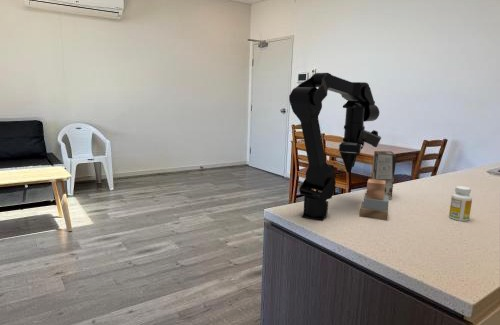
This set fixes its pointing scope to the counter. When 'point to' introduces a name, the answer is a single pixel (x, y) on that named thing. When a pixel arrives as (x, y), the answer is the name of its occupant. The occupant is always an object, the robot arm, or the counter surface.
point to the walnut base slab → (373, 213)
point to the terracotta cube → (375, 189)
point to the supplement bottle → (461, 204)
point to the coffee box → (384, 169)
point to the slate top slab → (376, 203)
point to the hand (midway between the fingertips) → (350, 169)
